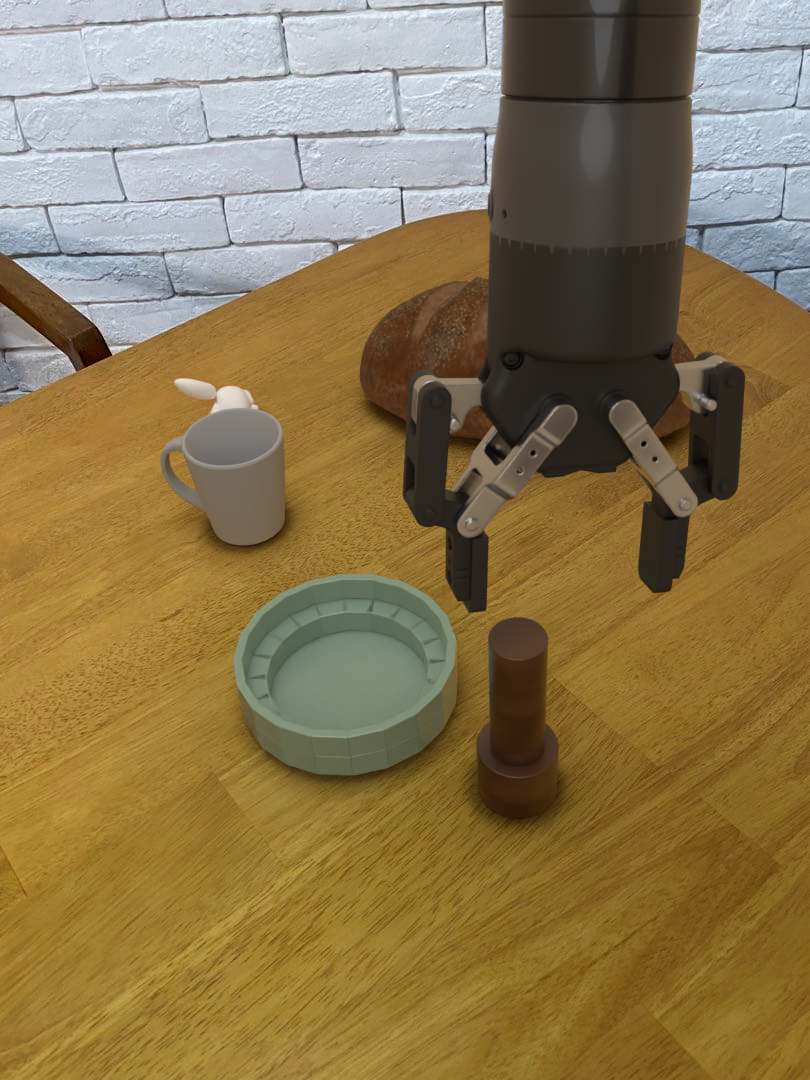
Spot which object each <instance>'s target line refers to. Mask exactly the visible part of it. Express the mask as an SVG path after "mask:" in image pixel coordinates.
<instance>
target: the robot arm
mask: <svg viewBox="0 0 810 1080" xmlns="http://www.w3.org/2000/svg"><path fill="white" fill-rule="evenodd" d="M701 10H702V0H502V17H503V18H502V25H501V26H502V27H501V28H502V29H501V59H500V64H501V65H500V94H501V97H500V98H499V106H498V107H499V108H498V116H497V125H496V129H495V130H496V131H495V137H494V142H493V149H492V157H491V159H492V160H491V171H490V175H491V176H490V188H489V193H488V194H487V216H488V219H489V245H488V247H489V249H488V251H489V252H488V279H489V286H488V324H487V356H486V360H485V363H484V365H483V367H482V370H481V371H480V373H479V375H478V377H477V378H437V377H436V376H435V375H434V373H432V372H431V371H429V370H419V371H417V372H415V373H414V374H413V375H412V376H411V378H410V380H409V388H408V405H407V421H406V423H405V424H406V426H405V439H404V440H405V442H404V443H405V444H404V458H403V459H404V460H403V478H402V498H403V500H404V502H405V503H406V505H407V507H408V509H409V511H410V512H411V514H412V516H413V517H414V520H415V521H416V522H417V524H418V525H419V526H421V527H422V528H423V527H424V528H433V527H435V526H436V527H439V528H443V529H445V571H444V572H445V575H444V577H445V580H446V582H447V585H448V587H449V589H450V590H451V592H452V594H453V596H454V597H455V599H456V601H457V602H459V603H460V602H462V604H463V605H464V607H465V609H466V610H467V613H468V614H473V613H482V612H486V611H487V608H488V580H489V579H488V576H489V544H490V543H489V540H490V538H489V535H488V534H487V533H486V531H485V529H486V528H487V527H488V525H489V524H490V523H491V521H492V520H493V519H494V517H495V516H496V514H498V512H499V511H500V510H501V509H502V507H503V505H504V504H505V503H506V502H508V501H509V500H513V499H515V498H516V497H517V496H519V494H520V493H521V492H522V490H523V489H524V488H525V486H526V485H527V483H528V482H529V481H530V480H531V479H532V477H533V476H534V475H535V473H538V474H541V475H542V476H543V478H545V479H551V478H562V477H566V476H569V475H572V474H575V473H577V472H581V471H584V472H589V473H594V474H607V473H608V474H609V473H617V467H619V466H622V464H624V463H626V462H627V463H628V464H629V465H630V466H631V467H632V469H633V470H634V471H635V473H636V474H637V475H638V477H639V478H640V480H641V481H642V482H643V484H644V485H645V487H646V488H647V489H648V491H649V492H650V494H651V500H646V501H643V506H642V517H641V527H640V538H639V539H640V540H639V550H638V551H639V552H638V559H637V560H638V562H637V572H638V573H637V574H638V576H639V579H640V580H641V582H642V583H643V584H644V585H645V586H646V587H647V588H648V589H649V591H650V592H651V593H653V594H662V593H670V592H671V591H672V588H673V580H678V579H680V577H681V575H682V573H683V571H684V570H685V564H686V555H687V544H688V537H689V528H690V520H691V516H692V514H694V512H695V511H696V510H697V508H698V507H699V506H700V505H702V504H705V503H707V502H709V501H711V500H714V499H716V500H718V501H727V500H729V499H731V498H733V496H735V494H736V493H737V491H738V488H739V477H740V465H741V464H740V462H741V448H742V432H743V417H744V403H745V387H746V374H745V372H744V370H743V368H741V367H740V366H737V365H736V364H735V363H733V362H731V361H730V360H728V359H726V358H724V357H723V356H721V355H718V354H716V353H714V352H712V351H710V350H709V351H703V352H700V353H699V354H697V356H696V357H695V360H694V362H686V363H678V364H674V361H673V357H672V347H673V343H674V340H675V338H676V334H678V324H679V313H680V302H681V293H682V282H683V272H684V260H685V253H686V252H685V250H686V241H687V230H688V229H687V228H688V219H689V211H690V210H689V209H690V199H691V190H692V179H693V167H694V166H693V165H694V152H693V151H694V143H693V119H692V118H693V117H692V113H693V98H692V97H691V95H692V94H693V92H694V82H695V72H696V61H697V50H698V40H699V31H700V30H699V29H700V20H701V18H700V15H701V12H702V11H701ZM679 391H680V392H681V396H682V401H683V403H684V404H685V405H686V406H687V407H689V408H690V420H689V429H688V430H689V432H688V452H687V455H688V456H687V466H685V467H682V468H680V469H679V466H678V465H677V463H676V461H675V460H674V459H673V457H672V456H671V455H670V453H669V452H668V450H667V449H666V447H665V446H664V444H663V443H662V442H661V440H660V438H658V437H657V436H656V435H655V433H654V432H653V430H652V429H653V428H654V426H655V425H656V424H657V423H658V421H659V420H660V419H661V417H662V416H663V415H664V413H665V412H666V411H667V409H668V408H669V407H670V405H671V404H672V403H673V401H674V400H675V399H676V397H677V395H678V392H679ZM478 406H479V407H480V408H481V410H482V411H483V412H484V414H485V415H486V416H487V418H488V419H489V420H490V422H491V423H492V424H493V426H492V427H491V429H490V430H489V431H488V433H487V434H486V435H485V437H484V438H483V439H482V440H481V441H480V442H479V443H478V445H477V446H476V447H475V448H474V450H473V451H472V453H471V455H470V457H469V463H468V464H467V465H468V466H467V467H466V469H465V470H464V471H463V472H462V474H461V475H460V476H459V478H458V479H457V480H456V482H455V483H454V484H453V486H452V487H451V488H450V489H446V487H447V475H448V459H449V449H450V447H449V445H450V435H449V434H452V433H455V432H457V431H459V430H460V429H461V428H462V426H463V424H464V421H465V417H466V415H467V413H468V412H469V411H470V410H471V409H473V408H475V407H478Z"/></svg>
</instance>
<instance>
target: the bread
mask: <svg viewBox="0 0 810 1080" xmlns="http://www.w3.org/2000/svg"><path fill="white" fill-rule="evenodd" d="M488 286H489V278H484V277H481V276H476V277H474V278H473V279H472V280H471V281H466V280H464V281H463V280H454V281H451V282H447V283H443V284H440V285H438V286H435V287H431V288H430V289H426V290H424V291H422V292H420V293H417V294H416V295H414V296H413V297H411V298H408V299H407V300H404V301H402V302H400V303H399V304H397V305H395V307H393V308H392V309H390V310H389V311H388V312H387V313H386V314H384V316H382V318H381V319H380V320H379V321H378V322H377V324H376V325H375V326H374V328H373V329H372V330H371V332H370V334H369V335H368V338H367V339H366V341H365V343H364V345H363V346H364V347H363V350H362V354H361V359H360V365H359V383H360V385H361V388H362V391H363V393H364V395H365V397H366V398H367V399H368V400H370V402H372V403H374V404H375V405H377V406H379V407H380V408H382V409H384V410H386V411H387V412H388V413H391V414H393V415H394V416H396V417H398V418H400V419H401V420H403V421H405V422H407V405H408V388H409V380H410V378H411V376H412V375H413V374H414V373H415V372H417V371H419V370H429V371H431V372H432V373H434V375H435V376H436V377H437V378H477V377H478V375H479V373H480V371H481V370H482V367H483V365H484V363H485V360H486V356H487V324H488ZM672 357H673V361H674V364H678V363H686V362H694V360H695V358H696V357H695V355H694V352H692V350H691V349H690V347H689V346H688V344H687V343H686V342H685V340H684V339H683V338H682V337H681V335H679V333H677V334H676V338H675V340H674V343H673V347H672ZM689 423H690V408H689V407H687V406H686V405H685V404H684V403H683V401H682V396H681V392H680V391H679V392H678V395H677V397H676V399H675V400H674V401H673V403H672V404H671V405H670V407H669V408H668V409H667V411H666V412H665V413H664V415H663V416H662V417H661V419H660V420H659V421H658V423H657V424H656V425H655V426H654V428H653V429H652V430H653V432H654V433H655V435H656V436H657V437H658V439H661V438H664V437H667V436H668V435H670V434H672V433H673V432H675V431H677V430H680V429H682V428H685V427H687V425H688V424H689ZM492 426H493V424H492V423H491V422H490V420H489V419H488V418H487V416H486V415H485V414H484V412H483V411H482V410H481V408H480V407H479V406H478V407H475V408H473V409H471V410H470V411H469V412H468V413H467V415H466V417H465V421H464V424H463V426H462V428H461V429H460V430H459V431H457V432H455V433H452V434H449V437H450V436H451V437H457V438H465V439H471V440H472V439H473V440H481V441H482V439H483V438H484V437H485V435H486V434H487V433H488V431H489V430H490V429H491V427H492Z"/></svg>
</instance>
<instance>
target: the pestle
mask: <svg viewBox="0 0 810 1080" xmlns="http://www.w3.org/2000/svg"><path fill="white" fill-rule="evenodd" d="M487 644H488V645H487V648H488V649H487V651H488V652H487V653H488V655H487V657H488V701H489V703H488V706H489V707H488V709H489V722H487V723H486V724H485V725H484V726H483V727H482V728H481V730H480V731H479V733H478V736H477V737H476V738H477V739H476V743H475V745H476V777H477V778H476V779H477V781H476V782H477V792H478V795H479V797H480V799H481V801H482V802H483V803H484V804H485V806H486V807H487V808H489V810H490V811H492V812H494V813H495V814H497V815H500V816H502V817H505V818H509V819H527V818H532V817H535V816H537V815H539V814H542V812H544V811H546V810H547V809H548V808H549V806H550V805H551V804H552V803H553V801H554V799H555V798H556V794H557V788H558V787H557V786H558V771H559V770H558V767H559V740H558V737H557V735H556V733H555V732H554V730H553V729H552V727H551V726H550V725H549V724H548V723H546V721H547V719H546V718H547V692H548V658H549V635H548V633H547V631H546V628H545V627H544V626H543V625H541V624H540V623H539V622H538V621H535V620H533V619H531V618H527V617H523V616H522V617H521V616H513V617H507V618H505V619H504V618H503V619H502V620H500V621H498V622H497V623H496V624H494V625H493V626H492V628H491V629H490V631H489V633H488V637H487Z"/></svg>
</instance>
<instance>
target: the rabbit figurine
mask: <svg viewBox="0 0 810 1080" xmlns="http://www.w3.org/2000/svg"><path fill="white" fill-rule="evenodd" d="M173 384H174V386H175V388H176V389H177V390H178V391H179V392H180V393H182V394H183V395H185V396H187V397H189V398H192V399H196V400H200V401H201V400H202V401H210V400H214V399H215V402H214V404H213V406H212V408H211V409H210V412H209V414H211V413H214V412H218V411H221V410H226V409H232V408H251V409H257V410H260V406H259V405H257V404H255V400H254V398H253V396H252V395H251V393H250V391H249V390H248V389H242V388H241V387H239V386H236V385H226V386H222V387H221V388H219V389H218V390H217V389H216V387H215V386H214V385H213V384H211V383H209V382H205V381H202V380H197V379H193V378H187V377H185V378H176V379H175V380H174V381H173Z"/></svg>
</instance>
